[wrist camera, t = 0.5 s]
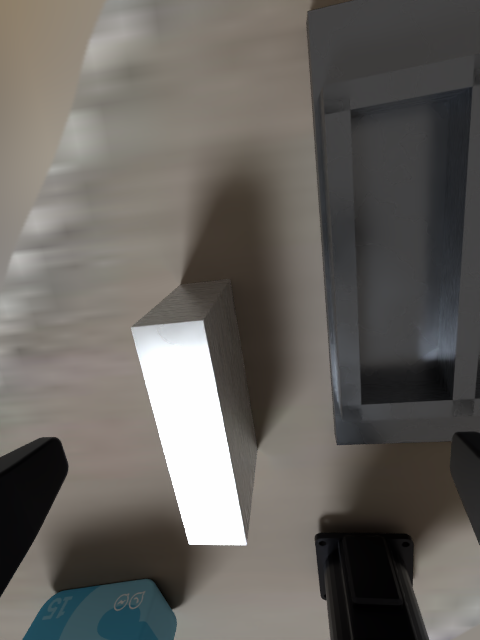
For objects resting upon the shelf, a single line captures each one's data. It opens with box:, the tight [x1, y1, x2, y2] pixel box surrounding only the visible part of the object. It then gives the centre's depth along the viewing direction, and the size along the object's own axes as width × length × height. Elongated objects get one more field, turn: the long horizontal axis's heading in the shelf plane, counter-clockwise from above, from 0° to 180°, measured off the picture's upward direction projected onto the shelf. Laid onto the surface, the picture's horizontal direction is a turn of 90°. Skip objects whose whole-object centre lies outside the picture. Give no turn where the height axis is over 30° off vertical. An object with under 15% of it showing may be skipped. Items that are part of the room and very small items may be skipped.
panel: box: [131, 279, 258, 545], centre depth 19 cm, size 12×3×7 cm, turn 8°
